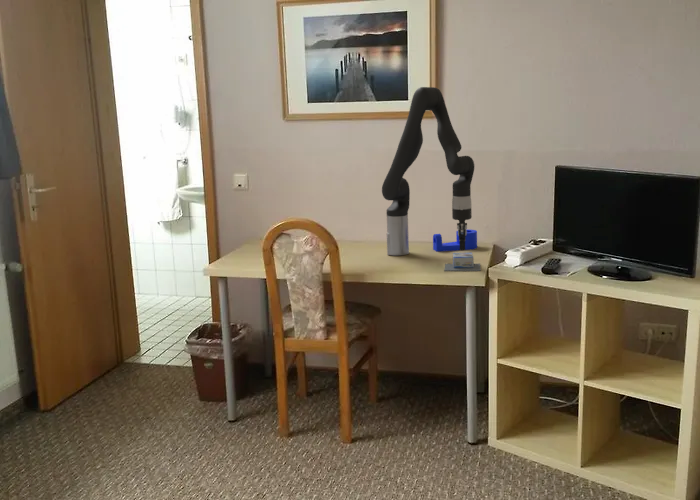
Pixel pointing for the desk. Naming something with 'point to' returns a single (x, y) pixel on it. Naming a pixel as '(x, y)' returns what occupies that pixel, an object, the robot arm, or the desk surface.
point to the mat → (451, 268)
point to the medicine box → (463, 260)
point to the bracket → (453, 246)
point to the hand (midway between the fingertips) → (462, 249)
